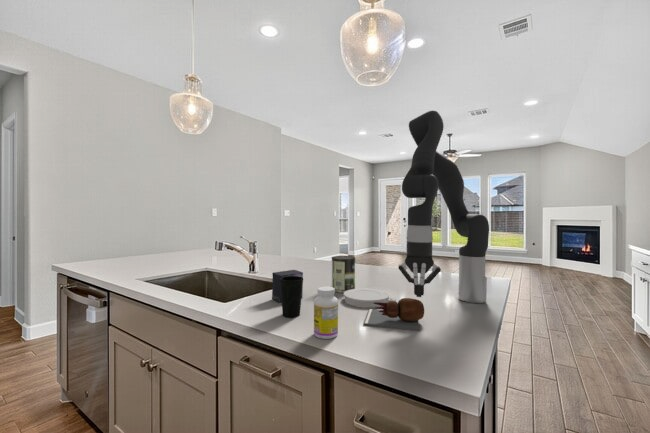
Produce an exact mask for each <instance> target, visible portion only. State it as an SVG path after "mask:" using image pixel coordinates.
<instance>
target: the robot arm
mask: <svg viewBox="0 0 650 433" xmlns="http://www.w3.org/2000/svg"><path fill="white" fill-rule="evenodd" d="M408 128H409V129H408V130H409V132H410V135H411V137H412V139H413V141H414V143H415V144H416V146H417V147H416V149H415V150H414V152H413V155H412V158H411V164H410V165H411V166H410V168H409V170H408V171H407V173H406V175H405V176H404V178H403V181H402V183H401V191H402V195H404V196H405V197H406V198H409V199H424V198H425V199H424V201H423V203H420V204H418V205H417V204H416V205H412V206H410V207H409V208H408V209H407V230H406V238H405V239H406V257H405V259H404V262H402V263H401V264H399V265H398V270H399V271H400V272H401V274H402V275H403V277H404V278H405V279H406V280H407V282H408V283H410V284H411V283H412V284H413V294H414V295H415V296H416V297H417V298H422V296H424V295H425V285H427V284H429V285H430V283H432V281H433V280H434V279H435V278H436V276H437V275H439V273H440V272H441V271H442V269H441V267H440V266H438V265H437V264H435V262H434V261H435V260H434V259H433V240H434V238H433V228H432V221H433V220H432V218H433V217H432V216H433V214H432V213H433V207H434V202H435V199H436V196H437V193H438V191H439V192H440V193H441V196H442V198H443V200H444V203H445V205H446V207H447V210H448V211H449V216H450V218H451V221H452V223H453V227H454V230H456V233H457V234H458V235H459V236H461V237H464V238H467V242H466V244H465V245H462V246H461V247H460V248H459V250H458V254H459V255H458V299H459V300H460V301H463V302H466V303H472V304H481V303H483V304H484V303H487V288H488V287H487V286H488V285H487V279H488V278H487V277H486V257H487V256H486V255H487V254H486V253H487V250H488V248H489V238H490V237H489V236H490V224H489V221H488V218H487V217H486V216H485V215H483V214H480V213H478V214H477V213H470V212H469V210H468V209H467V206H466V204H465V201H464V190H465V182H464V178H463V175H462V173H461V172H460V170H459V168H458V165H457V164H456V163H455V162H454V161H452V160H451V159H450V158H447V157H446V156H444V155H443V154H441V153H440V152H438V151H437V149H438V147H439V143H440V141H441V138H442V135H443V133H444V132H443V131H444V128H445V127H444V120H443V118H442V116H441V115H440V112H438V111H437V110H434V109H433V110H428V111H426V112H424V113H422V114H420V115H419V116H417V117H415V118H413V119H411V120H410V121H409V122H408ZM407 268H408V270H409V271H410V272H411V273H412V274H413V275H412V276H413V277H412V276H411V275H410V274H409V273H408V270H407ZM430 270H431V272H430V274H428V276H426V274H427V273H428V272H429V271H430ZM418 274H419V276H418ZM425 277H426V278H425Z"/></svg>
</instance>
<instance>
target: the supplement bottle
mask: <svg viewBox="0 0 650 433" xmlns="http://www.w3.org/2000/svg"><path fill="white" fill-rule="evenodd" d="M317 295H318V296H316V297H315V299H314V301H313V334H314V336H315V337H316V338H318V339H321V340H329V339H330V340H331V339H334V338H336V337H337V336H338V334H339V300H338V298H337V297H336V296H335V289H334V288H333V287H332V286H320V287H318V288H317Z"/></svg>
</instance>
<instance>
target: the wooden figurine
mask: <svg viewBox="0 0 650 433" xmlns="http://www.w3.org/2000/svg"><path fill="white" fill-rule="evenodd" d="M374 304H377V305H381V307H374V310H381V311H379V312H383V313H382V315H386V316H388V317H390V318H396V317H398V316H399V318H400V319H401V320H403V321H417V320H418V321H419V320H421V319H423V318H424V315H425V306H424V303H423V302H422V301H421V300H420V299H416V298H409V297H404V298H401V299H399V300H398V302H397V301H396V302H395V301H389V302H388V303H375V302H374Z"/></svg>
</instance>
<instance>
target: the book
mask: <svg viewBox="0 0 650 433" xmlns="http://www.w3.org/2000/svg"><path fill="white" fill-rule="evenodd" d="M381 310H382V309H375V308H374V309H373V308H368V310H367V312H366V315H365V318H364V321H363V323H362V324H363V326H367V327H376V328H377V327H378V328H386V327H387V328H388V329H399V330H409V331H418V332H419V331H420V322H419V320H417V321H403V320H401V319H400V318H399V316H398V317H396V318H390V317H388V316H386V315H382V313H383V312H379V311H381Z"/></svg>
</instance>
